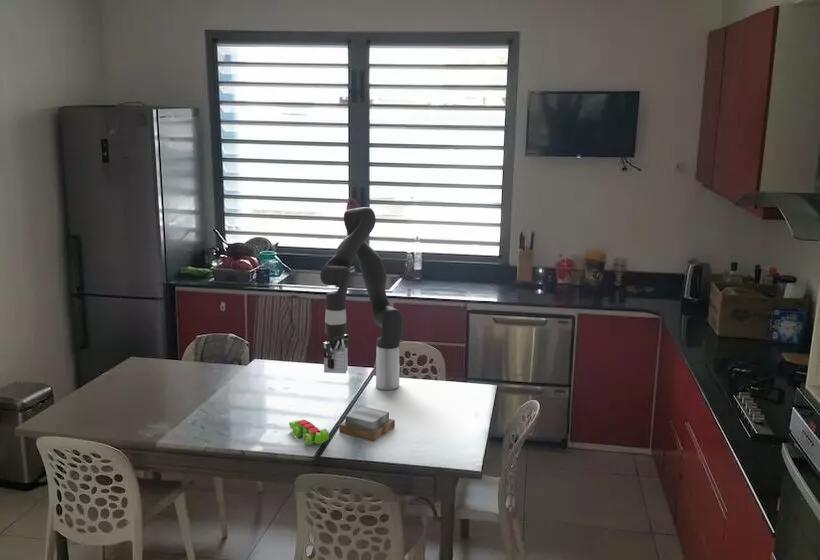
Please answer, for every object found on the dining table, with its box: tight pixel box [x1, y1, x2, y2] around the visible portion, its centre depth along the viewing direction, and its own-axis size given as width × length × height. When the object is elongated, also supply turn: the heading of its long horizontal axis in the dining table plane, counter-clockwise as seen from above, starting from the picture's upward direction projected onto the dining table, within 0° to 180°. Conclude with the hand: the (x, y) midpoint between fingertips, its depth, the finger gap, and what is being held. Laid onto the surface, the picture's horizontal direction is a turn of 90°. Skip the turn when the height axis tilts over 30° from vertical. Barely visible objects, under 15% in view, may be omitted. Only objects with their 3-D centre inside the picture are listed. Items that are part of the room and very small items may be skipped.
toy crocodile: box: [288, 418, 330, 446], centre depth 260 cm, size 20×7×6 cm, turn 37°
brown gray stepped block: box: [338, 405, 396, 442], centre depth 268 cm, size 14×14×6 cm
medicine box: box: [323, 347, 349, 374], centre depth 277 cm, size 8×4×9 cm, turn 84°
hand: (335, 365), depth 277 cm, fingers closed on medicine box, 5 cm apart
